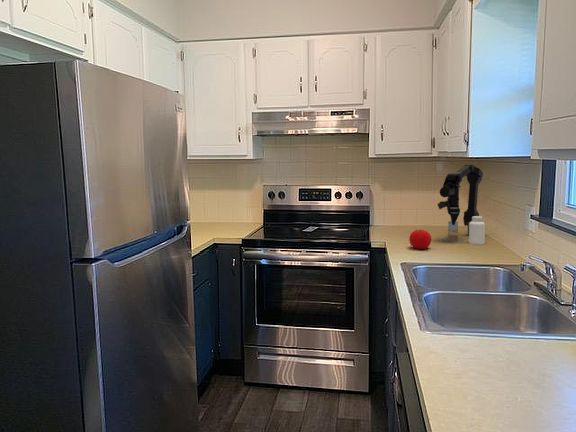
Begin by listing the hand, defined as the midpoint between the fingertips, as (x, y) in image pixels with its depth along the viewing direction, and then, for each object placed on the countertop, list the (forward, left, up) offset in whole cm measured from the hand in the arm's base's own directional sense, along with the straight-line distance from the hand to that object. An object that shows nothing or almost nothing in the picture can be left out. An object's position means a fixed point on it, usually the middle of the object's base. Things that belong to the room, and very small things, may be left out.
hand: (452, 223), depth 261 cm
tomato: (+24, -17, -10) cm, 31 cm away
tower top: (0, 0, -6) cm, 6 cm away
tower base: (0, 0, -10) cm, 10 cm away
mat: (0, 0, -10) cm, 10 cm away
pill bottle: (+6, +12, -10) cm, 17 cm away
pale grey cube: (0, 0, -2) cm, 3 cm away
